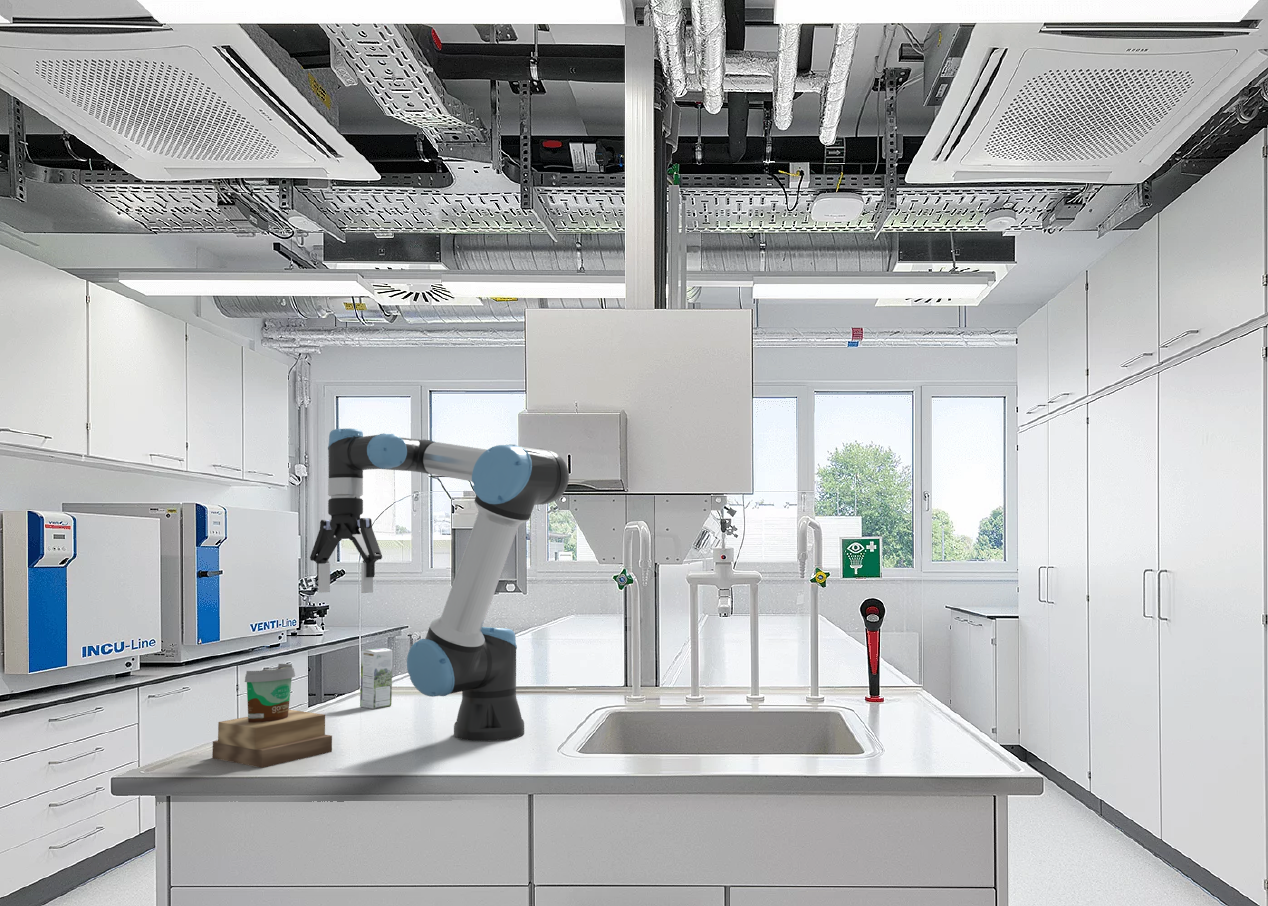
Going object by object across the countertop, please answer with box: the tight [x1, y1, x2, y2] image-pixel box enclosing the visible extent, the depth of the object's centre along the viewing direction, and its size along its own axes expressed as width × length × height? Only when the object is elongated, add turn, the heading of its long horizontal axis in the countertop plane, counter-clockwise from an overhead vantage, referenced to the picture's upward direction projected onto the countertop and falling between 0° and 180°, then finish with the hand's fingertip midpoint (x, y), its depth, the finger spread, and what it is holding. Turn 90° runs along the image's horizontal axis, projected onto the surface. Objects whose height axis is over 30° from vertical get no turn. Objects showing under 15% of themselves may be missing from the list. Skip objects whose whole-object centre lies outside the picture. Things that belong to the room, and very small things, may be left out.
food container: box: [244, 663, 296, 722], centre depth 196 cm, size 12×6×10 cm, turn 168°
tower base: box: [211, 734, 333, 769], centre depth 195 cm, size 16×16×4 cm
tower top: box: [217, 709, 326, 750], centre depth 195 cm, size 12×16×4 cm
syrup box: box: [359, 647, 394, 710], centre depth 250 cm, size 6×6×14 cm
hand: (345, 592), depth 219 cm, fingers open, 13 cm apart
